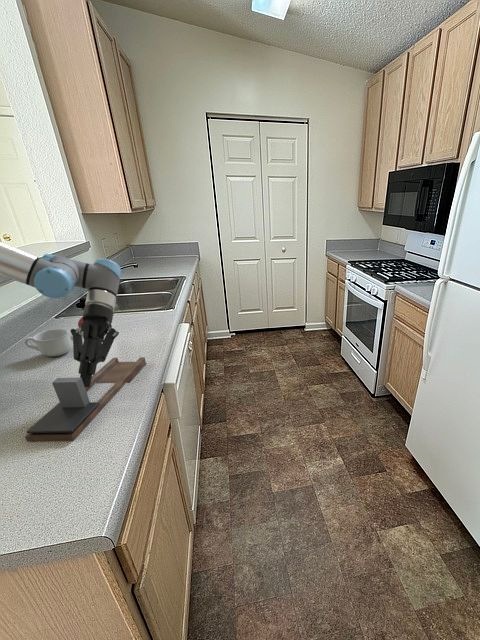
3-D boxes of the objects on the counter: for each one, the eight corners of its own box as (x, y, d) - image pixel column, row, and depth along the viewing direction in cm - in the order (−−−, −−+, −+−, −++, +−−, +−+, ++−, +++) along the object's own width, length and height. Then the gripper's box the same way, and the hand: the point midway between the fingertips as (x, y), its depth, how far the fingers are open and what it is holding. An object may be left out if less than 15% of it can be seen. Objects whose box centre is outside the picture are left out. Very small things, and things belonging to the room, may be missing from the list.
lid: (59, 404, 89) (48, 377, 85) (99, 403, 89) (90, 377, 85) (27, 433, 78) (13, 404, 74) (72, 432, 78) (60, 403, 74)
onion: (80, 336, 140) (74, 318, 137) (81, 331, 145) (76, 314, 141) (95, 334, 142) (90, 316, 139) (97, 329, 147) (91, 312, 143)
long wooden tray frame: (114, 364, 116) (112, 357, 115) (146, 363, 116) (144, 357, 115) (28, 445, 79) (24, 436, 77) (75, 444, 79) (71, 435, 77)
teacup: (79, 346, 130) (73, 327, 127) (67, 358, 121) (59, 338, 117) (40, 349, 128) (32, 330, 125) (24, 361, 119) (16, 341, 115)
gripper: (127, 314, 102) (115, 388, 94) (85, 314, 102) (69, 389, 94) (114, 302, 95) (100, 382, 87) (69, 302, 95) (50, 382, 87)
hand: (84, 385), depth 91 cm, fingers closed
